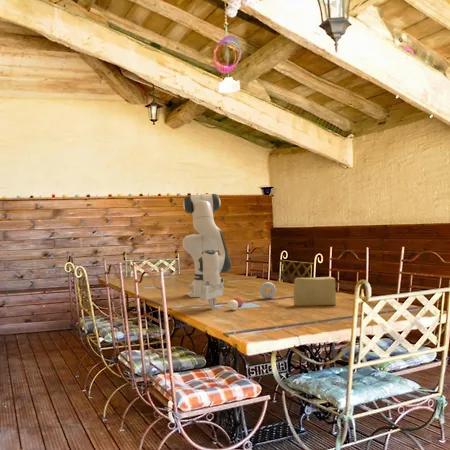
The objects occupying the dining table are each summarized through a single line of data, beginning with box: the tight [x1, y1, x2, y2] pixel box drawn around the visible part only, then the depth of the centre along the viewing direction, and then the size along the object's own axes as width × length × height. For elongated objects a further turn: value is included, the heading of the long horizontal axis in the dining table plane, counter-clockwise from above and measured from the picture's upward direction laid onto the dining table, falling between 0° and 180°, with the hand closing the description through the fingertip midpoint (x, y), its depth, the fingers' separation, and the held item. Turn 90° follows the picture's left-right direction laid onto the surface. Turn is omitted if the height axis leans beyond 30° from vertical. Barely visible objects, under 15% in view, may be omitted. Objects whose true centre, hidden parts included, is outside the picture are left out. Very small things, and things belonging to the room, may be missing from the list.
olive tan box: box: [293, 276, 337, 306], centre depth 280 cm, size 22×10×15 cm, turn 92°
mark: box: [236, 302, 263, 310], centre depth 281 cm, size 14×14×1 cm
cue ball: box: [227, 299, 238, 311], centre depth 270 cm, size 6×6×6 cm
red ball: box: [233, 296, 244, 307], centre depth 280 cm, size 6×6×6 cm
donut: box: [259, 281, 277, 299], centre depth 306 cm, size 10×4×10 cm, turn 90°
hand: (212, 306), depth 273 cm, fingers closed
